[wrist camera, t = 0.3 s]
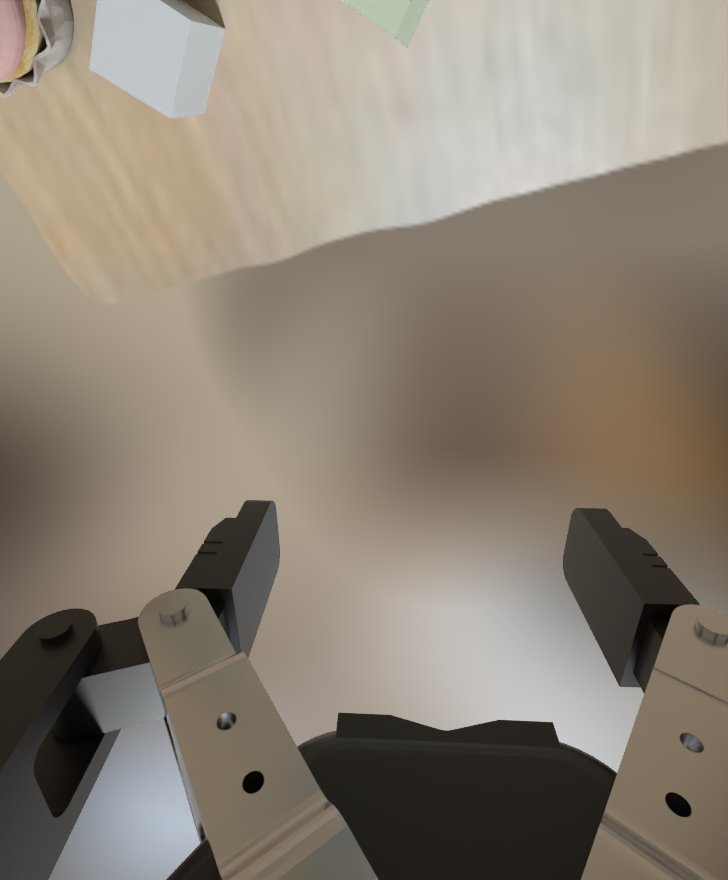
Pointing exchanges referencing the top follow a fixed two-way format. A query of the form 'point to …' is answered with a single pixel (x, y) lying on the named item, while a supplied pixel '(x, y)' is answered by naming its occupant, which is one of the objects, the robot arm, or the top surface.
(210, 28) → the grey-blue block
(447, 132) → the top surface
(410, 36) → the sage block
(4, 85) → the cupcake
